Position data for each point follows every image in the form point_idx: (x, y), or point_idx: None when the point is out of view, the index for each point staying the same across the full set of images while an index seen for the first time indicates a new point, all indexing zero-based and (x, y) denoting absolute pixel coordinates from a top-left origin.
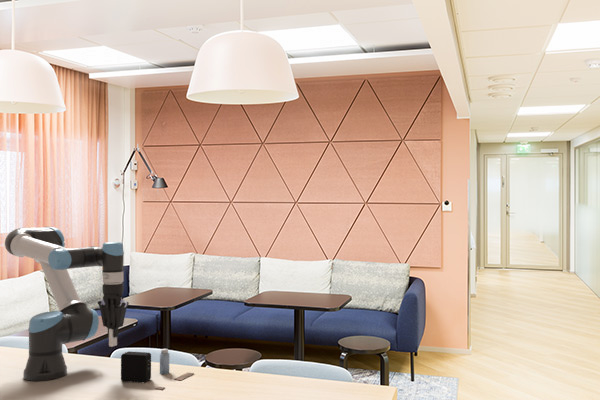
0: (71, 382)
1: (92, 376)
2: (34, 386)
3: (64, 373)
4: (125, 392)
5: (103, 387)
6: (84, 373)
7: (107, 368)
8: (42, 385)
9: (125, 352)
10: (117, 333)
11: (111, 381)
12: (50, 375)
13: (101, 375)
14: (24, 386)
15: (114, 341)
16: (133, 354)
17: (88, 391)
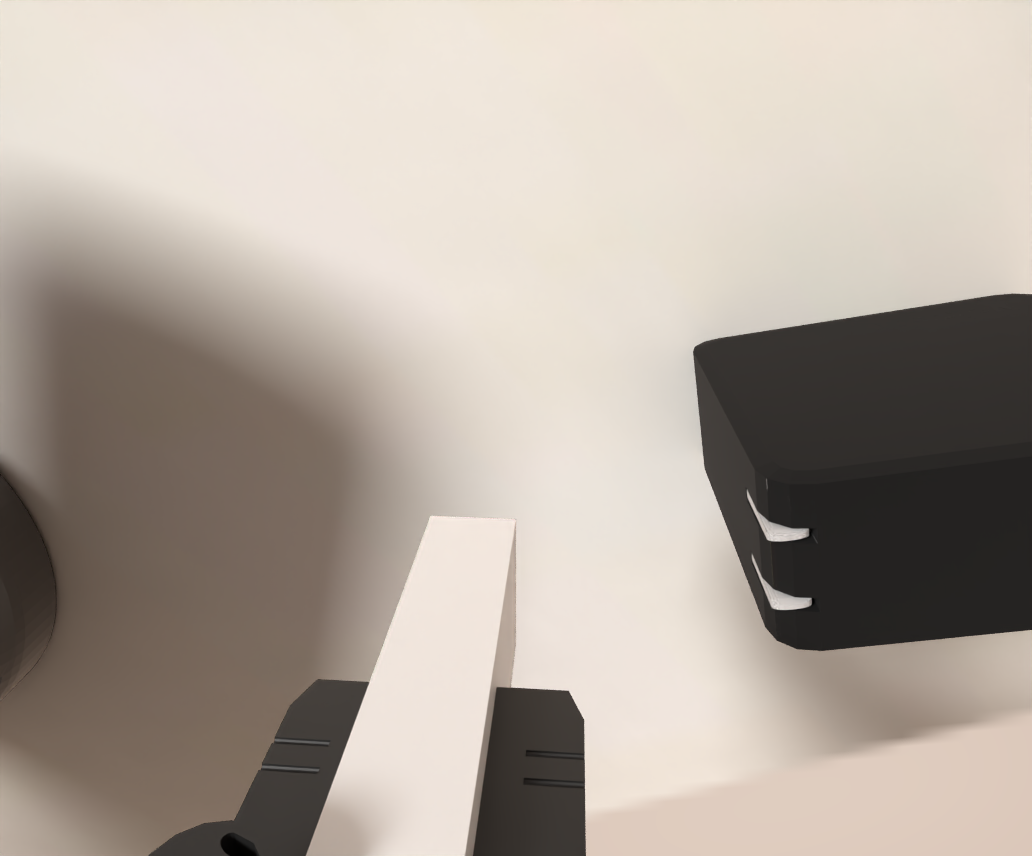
0: (272, 629)
1: (291, 425)
2: (104, 778)
3: (13, 519)
4: (941, 690)
5: (655, 647)
6: (121, 370)
7: (175, 85)
8: (133, 747)
9: (781, 540)
10: (580, 798)
11: (606, 491)
12: (21, 667)
13: (349, 363)
14: (40, 796)
15: (509, 650)
16: (1017, 614)
17: (602, 752)
